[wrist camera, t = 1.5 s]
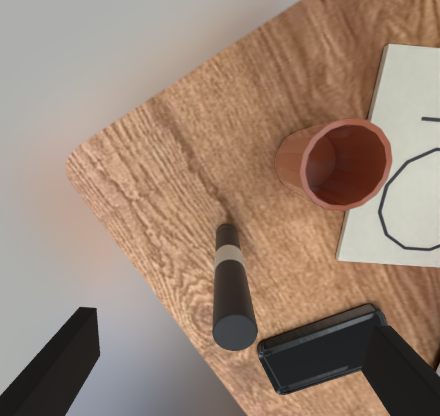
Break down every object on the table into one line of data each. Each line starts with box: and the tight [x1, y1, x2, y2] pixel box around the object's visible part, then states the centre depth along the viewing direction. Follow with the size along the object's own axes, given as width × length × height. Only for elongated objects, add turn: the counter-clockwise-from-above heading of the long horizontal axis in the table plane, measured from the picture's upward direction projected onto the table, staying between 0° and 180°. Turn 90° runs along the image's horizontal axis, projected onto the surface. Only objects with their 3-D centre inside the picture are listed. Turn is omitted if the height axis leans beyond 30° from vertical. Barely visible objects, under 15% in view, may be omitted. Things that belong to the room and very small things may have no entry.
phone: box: [257, 304, 388, 395], centre depth 26 cm, size 8×1×15 cm
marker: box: [212, 224, 258, 351], centre depth 17 cm, size 2×2×13 cm
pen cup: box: [275, 118, 393, 211], centre depth 18 cm, size 6×6×7 cm
